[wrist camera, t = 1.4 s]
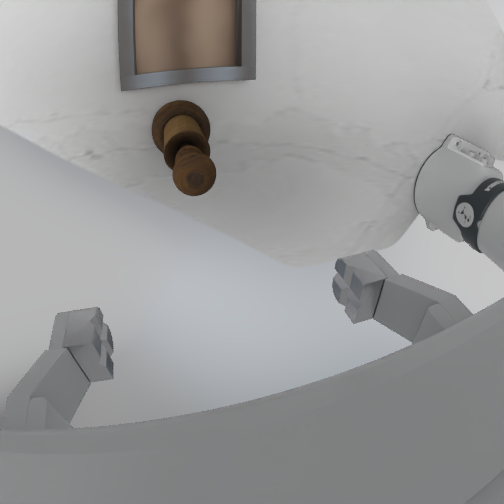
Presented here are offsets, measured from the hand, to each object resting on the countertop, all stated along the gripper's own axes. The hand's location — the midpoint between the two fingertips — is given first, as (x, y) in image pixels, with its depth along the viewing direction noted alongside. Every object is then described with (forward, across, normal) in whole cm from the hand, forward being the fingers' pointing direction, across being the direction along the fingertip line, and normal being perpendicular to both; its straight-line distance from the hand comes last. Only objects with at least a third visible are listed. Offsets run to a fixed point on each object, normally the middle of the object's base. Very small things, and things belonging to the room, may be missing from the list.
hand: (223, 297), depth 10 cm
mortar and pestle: (+30, +1, -1) cm, 30 cm away
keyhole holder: (+30, +3, +15) cm, 34 cm away
